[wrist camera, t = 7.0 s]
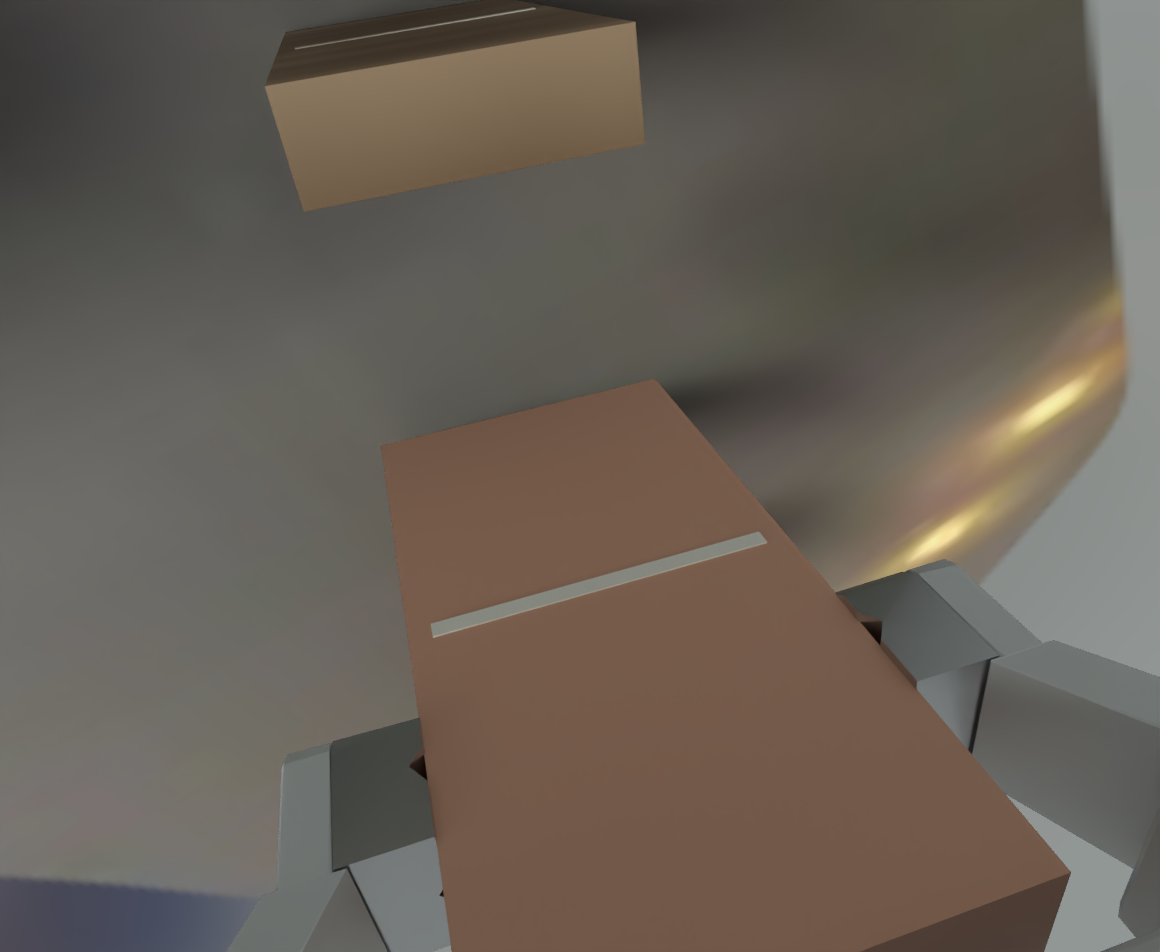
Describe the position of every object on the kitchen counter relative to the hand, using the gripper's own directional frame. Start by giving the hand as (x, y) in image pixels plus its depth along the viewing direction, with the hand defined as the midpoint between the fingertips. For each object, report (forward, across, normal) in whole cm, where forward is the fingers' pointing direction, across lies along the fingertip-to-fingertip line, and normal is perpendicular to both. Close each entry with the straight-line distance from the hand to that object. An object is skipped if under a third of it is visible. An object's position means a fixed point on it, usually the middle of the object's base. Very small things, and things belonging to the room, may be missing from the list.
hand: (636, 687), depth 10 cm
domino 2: (+6, 0, 0) cm, 6 cm away
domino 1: (+15, 0, -6) cm, 17 cm away
